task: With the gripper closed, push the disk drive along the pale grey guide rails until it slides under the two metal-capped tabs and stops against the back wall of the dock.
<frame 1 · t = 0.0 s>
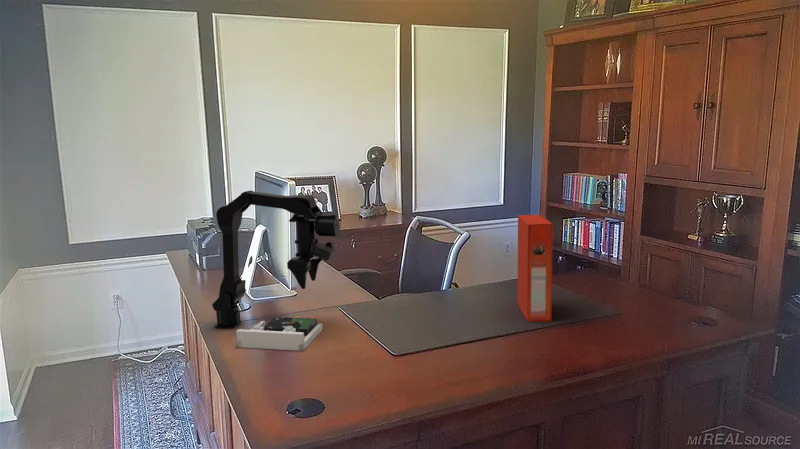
hand: (308, 284, 187), 15 cm above the table, tool pointing down, fingers open, 9 cm apart
dock: (281, 338, 182), on the table
disk drive: (290, 331, 190), on the table
file binder: (533, 313, 200), on the table
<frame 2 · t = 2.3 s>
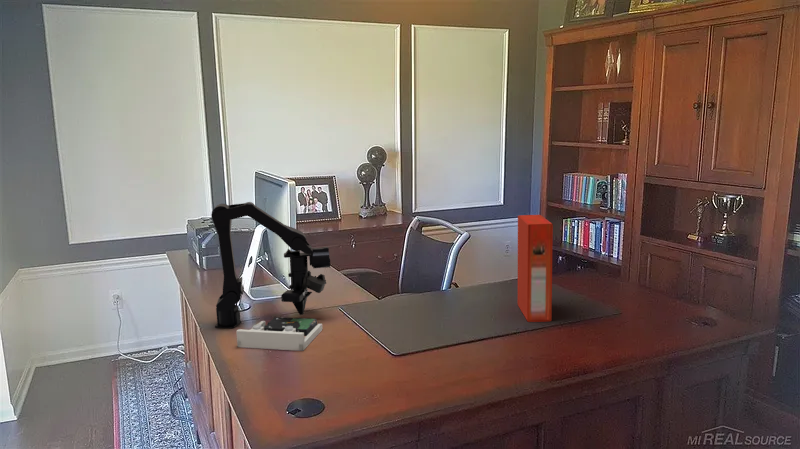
hand: (301, 314, 199), 1 cm above the table, tool pointing down, fingers closed
nothing on the table moved.
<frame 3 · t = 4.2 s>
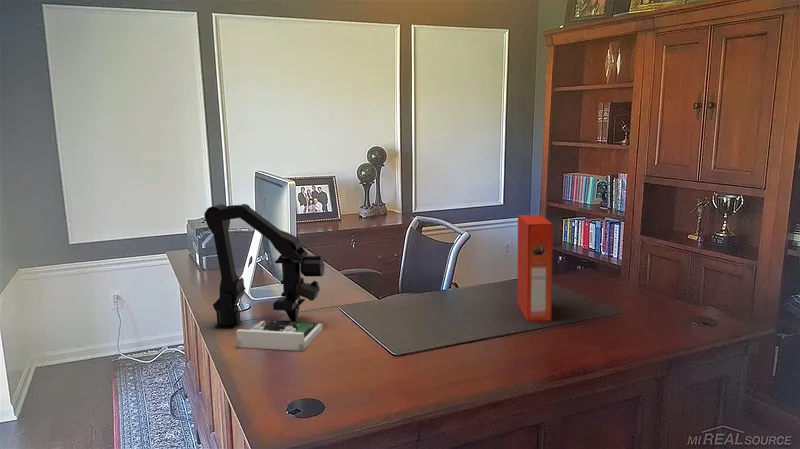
hand: (294, 322, 192), 1 cm above the table, tool pointing down, fingers closed
disk drive: (288, 334, 187), on the table, touching gripper
everything else where it was.
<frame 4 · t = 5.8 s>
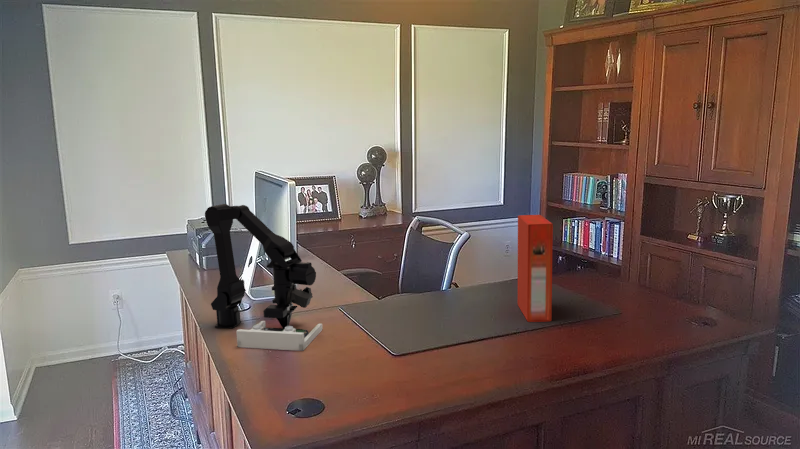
hand: (286, 330, 186), 1 cm above the table, tool pointing down, fingers closed
disk drive: (280, 342, 180), on the table
everything else where it was.
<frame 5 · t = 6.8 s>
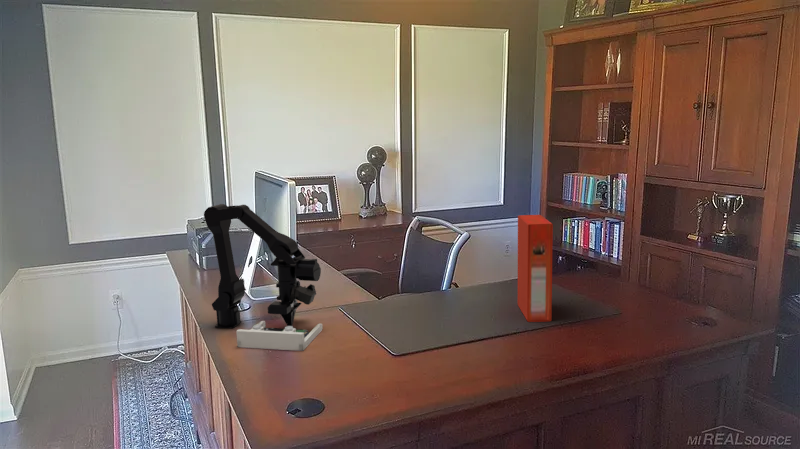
hand: (290, 326, 189), 1 cm above the table, tool pointing down, fingers closed
nothing on the table moved.
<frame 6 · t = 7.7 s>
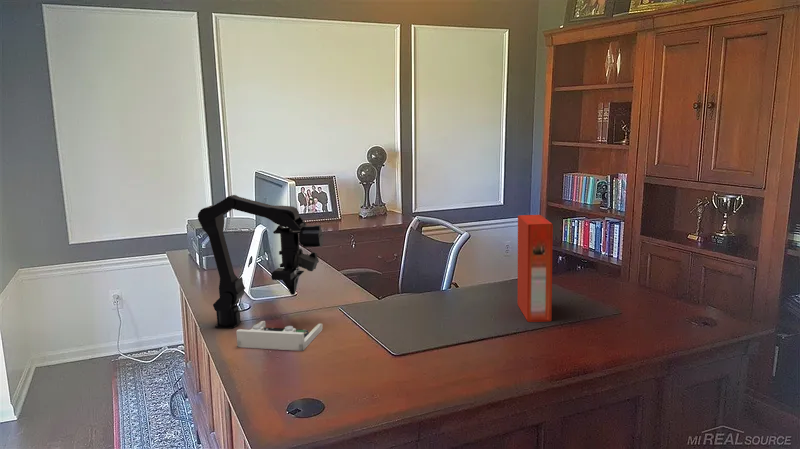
hand: (293, 294, 190), 11 cm above the table, tool pointing down, fingers closed
nothing on the table moved.
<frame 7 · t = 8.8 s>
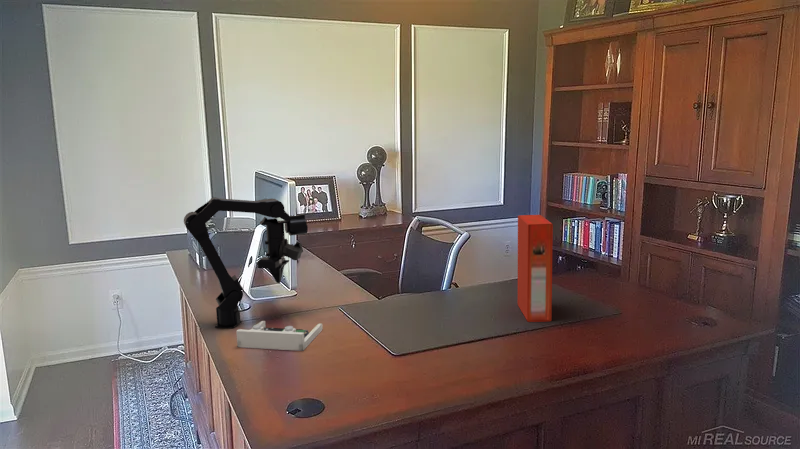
hand: (278, 282, 200), 12 cm above the table, tool pointing down, fingers closed
nothing on the table moved.
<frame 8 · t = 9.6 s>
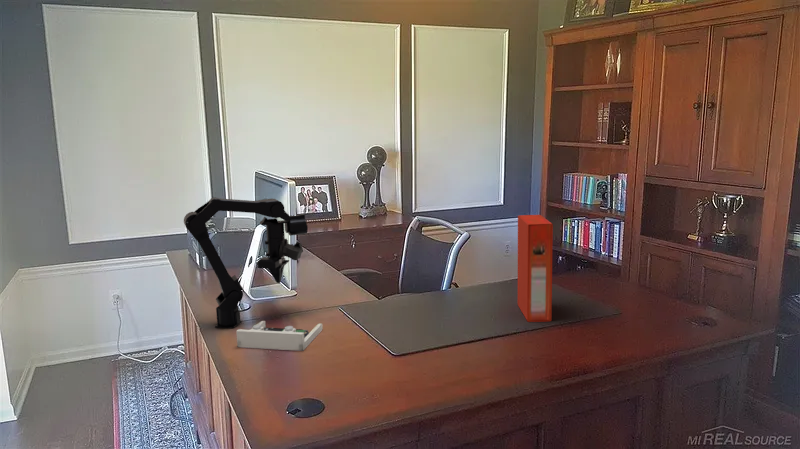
hand: (278, 282, 200), 12 cm above the table, tool pointing down, fingers closed
nothing on the table moved.
at the end: disk drive 0.6 cm from the target spot, on the table; disk drive tilted 0°; disk drive moved 9.9 cm from its start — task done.
